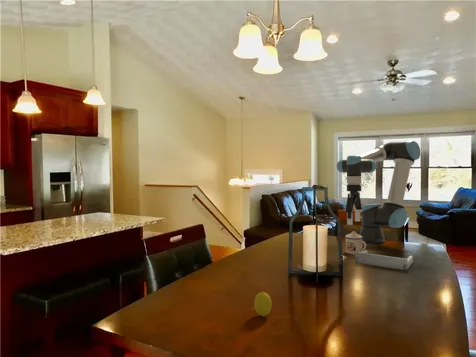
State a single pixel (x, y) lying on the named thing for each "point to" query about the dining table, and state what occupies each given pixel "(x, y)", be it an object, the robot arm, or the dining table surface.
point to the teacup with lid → (354, 243)
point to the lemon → (262, 303)
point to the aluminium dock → (383, 260)
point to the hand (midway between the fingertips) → (353, 223)
